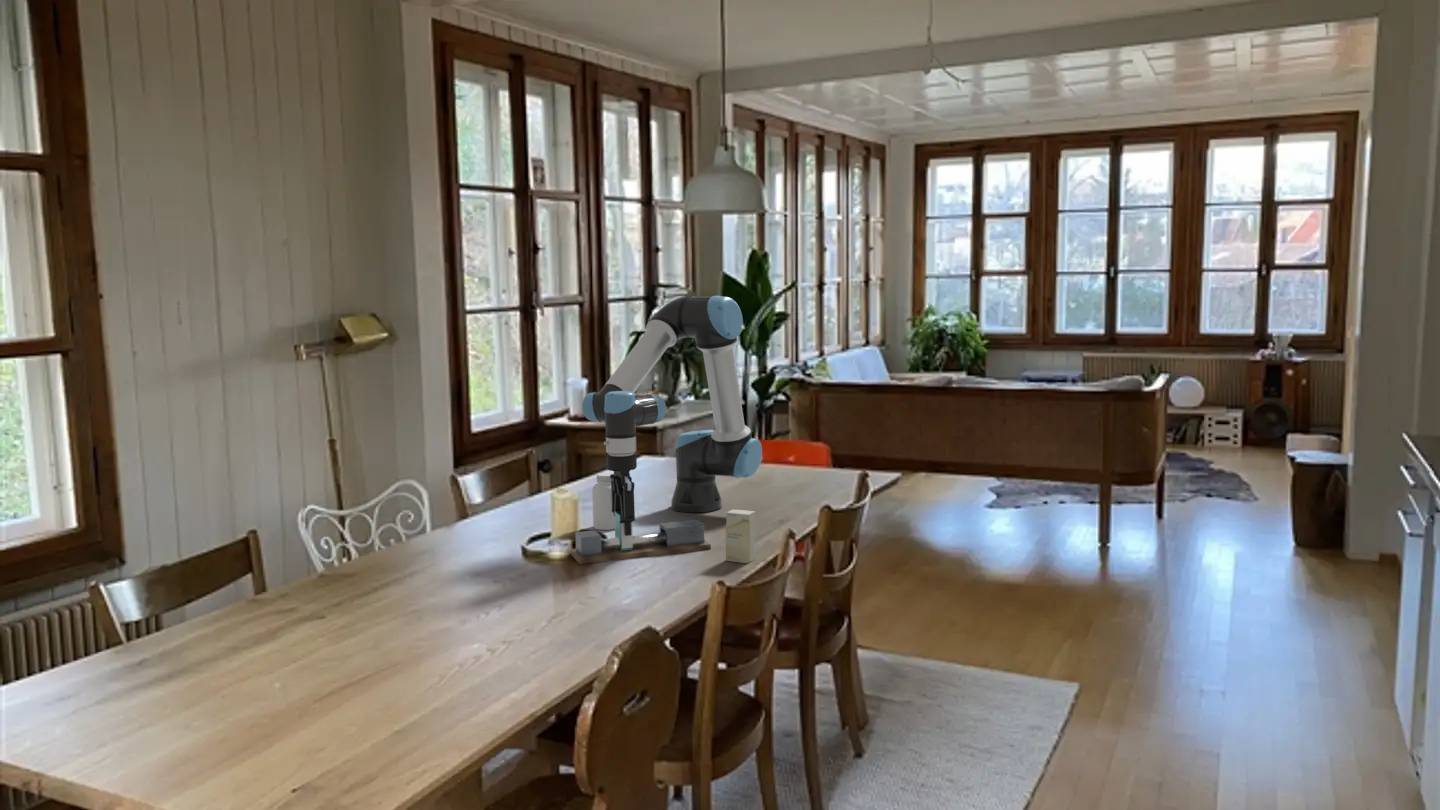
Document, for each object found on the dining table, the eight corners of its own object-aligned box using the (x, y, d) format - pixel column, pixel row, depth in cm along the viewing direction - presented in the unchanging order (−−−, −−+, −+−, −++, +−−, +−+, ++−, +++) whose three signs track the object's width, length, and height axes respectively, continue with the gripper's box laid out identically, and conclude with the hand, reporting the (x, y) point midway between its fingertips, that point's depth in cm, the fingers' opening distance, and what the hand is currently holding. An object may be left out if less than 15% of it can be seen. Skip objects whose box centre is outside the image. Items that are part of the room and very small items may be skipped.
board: (697, 540, 274) (697, 535, 274) (710, 548, 265) (710, 544, 264) (570, 554, 262) (570, 549, 262) (579, 564, 253) (579, 559, 252)
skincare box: (725, 561, 253) (724, 512, 251) (732, 556, 257) (731, 508, 255) (749, 563, 250) (748, 514, 249) (756, 559, 254) (755, 510, 253)
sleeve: (696, 537, 271) (696, 519, 271) (704, 542, 266) (704, 524, 265) (659, 541, 268) (659, 523, 267) (667, 547, 262) (666, 528, 262)
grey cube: (595, 548, 262) (594, 530, 261) (601, 554, 256) (600, 535, 256) (576, 551, 260) (575, 532, 260) (581, 556, 255) (581, 537, 254)
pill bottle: (624, 524, 293) (622, 471, 291) (618, 530, 285) (617, 477, 284) (596, 523, 294) (595, 471, 292) (590, 530, 286) (588, 477, 284)
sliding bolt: (675, 539, 269) (674, 505, 268) (681, 544, 264) (681, 509, 263) (588, 549, 261) (587, 514, 260) (593, 554, 256) (592, 518, 255)
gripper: (597, 449, 266) (600, 538, 268) (616, 460, 249) (619, 555, 252) (625, 447, 268) (628, 535, 271) (646, 458, 251) (649, 551, 254)
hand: (624, 544), depth 261 cm, fingers closed on sliding bolt, 5 cm apart
